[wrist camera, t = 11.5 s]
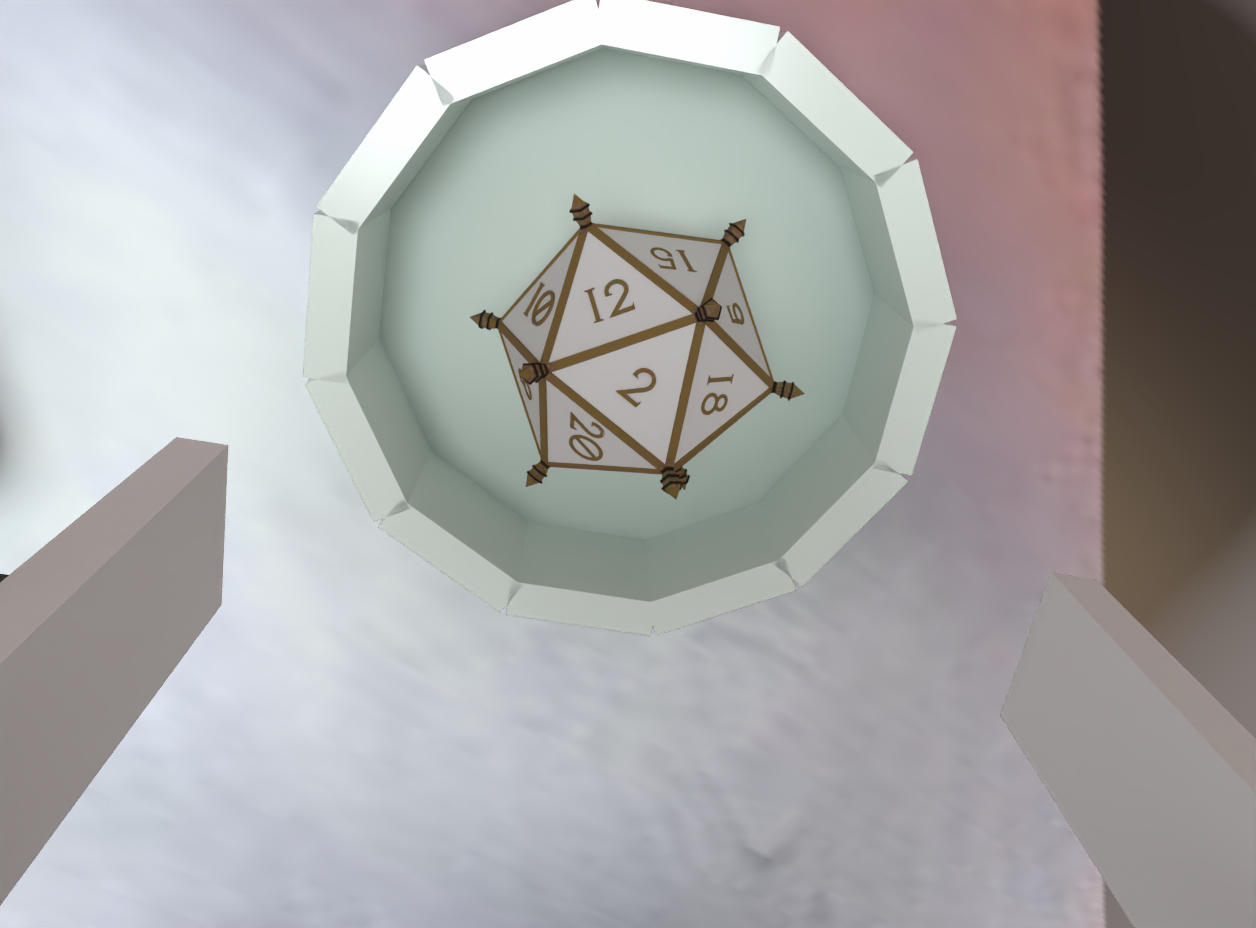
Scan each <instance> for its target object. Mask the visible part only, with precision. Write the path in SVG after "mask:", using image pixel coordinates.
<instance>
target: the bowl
mask: <svg viewBox="0 0 1256 928" xmlns="http://www.w3.org/2000/svg"><path fill="white" fill-rule="evenodd" d="M779 30H780V27H778V26H773V25H768V24H763V23H758V22H753V21H748V20H743V19H738V18H733V17H728V16H723V15H718V14H713V13H707V12H702V11H697V10H692V9H687V8H682V7H677V6H672V5H667V4H662V3H657V2H652V1H647V0H600V4H599V9H598V6H597V3H596V0H572V1H570V2H567V3H565V4H562V5H560V6H557V7H555V8H552V9H550V10H547V11H545V12H542V13H540V14H537V15H535V16H532V17H530V18H527V19H525V20H522V21H520V22H517V23H515V24H512V25H510V26H507V27H505V28H502V29H500V30H497V31H495V32H492V33H490V34H487V35H485V36H482V37H480V38H477V39H475V40H472V41H470V42H467V43H465V44H462V45H460V46H457V47H455V48H452V49H450V50H447V51H445V52H442V53H440V54H437V55H435V56H432V57H430V58H427V59H425V60H424V61H425V64H426V65H417V66H416V67H415V69H414V70H413V72H412V73H411V74H410V76H409V77H408V79H407V80H406V81H405V83H404V84H403V86H402V87H401V88H400V90H399V91H398V93H397V94H396V95H395V97H394V98H393V100H392V101H391V102H390V104H389V105H388V107H387V108H386V109H385V111H384V112H383V114H382V115H381V116H380V118H379V119H378V121H377V122H376V123H375V125H374V126H373V128H372V129H371V130H370V132H369V133H368V135H367V136H366V137H365V139H364V140H363V142H362V143H361V144H360V146H359V147H358V149H357V150H356V151H355V153H354V154H353V156H352V157H351V158H350V160H349V161H348V163H347V164H346V165H345V167H344V168H343V170H342V171H341V172H340V174H339V175H338V177H337V178H336V179H335V181H334V182H333V183H332V185H331V186H330V188H329V189H328V190H327V192H326V193H325V195H324V196H323V197H322V199H321V200H320V202H319V203H318V204H317V206H316V207H317V208H319V209H320V210H321V211H318V212H316V213H314V214H313V229H312V245H311V260H310V276H309V291H308V307H307V322H306V338H305V353H304V368H303V377H308V378H310V379H309V380H308V381H307V382H306V383H305V386H306V388H307V390H308V392H309V394H310V396H311V398H312V400H313V402H314V404H315V406H316V408H317V410H318V412H319V414H320V416H321V418H322V420H323V422H324V424H325V426H326V428H327V430H328V432H329V434H330V436H331V438H332V440H333V442H334V444H335V446H336V448H337V450H338V452H339V454H340V456H341V458H342V460H343V462H344V464H345V466H346V468H347V470H348V472H349V474H350V476H351V478H352V480H353V482H354V484H355V486H356V488H357V490H358V492H359V494H360V496H361V498H362V500H363V502H364V504H365V506H366V508H367V510H368V512H369V514H370V516H371V518H372V520H373V522H374V521H377V520H380V519H382V521H381V523H380V524H379V526H378V527H379V528H380V529H381V530H383V531H384V532H386V533H387V534H389V535H390V536H391V537H393V538H394V539H396V540H397V541H399V542H400V543H401V544H403V545H404V546H406V547H407V548H409V549H410V550H411V551H413V552H414V553H416V554H417V555H418V556H420V557H421V558H423V559H424V560H426V561H427V562H428V563H430V564H431V565H433V566H434V567H436V568H437V569H438V570H440V571H441V572H443V573H444V574H446V575H447V576H448V577H450V578H451V579H453V580H454V581H455V582H457V583H458V584H460V585H461V586H463V587H464V588H465V589H467V590H468V591H470V592H471V593H473V594H474V595H475V596H477V597H478V598H480V599H481V600H483V601H484V602H485V603H487V604H488V605H490V606H491V607H493V608H494V609H495V610H497V611H498V612H500V611H501V610H502V609H503V608H504V607H505V606H506V605H507V604H508V605H507V612H506V615H510V616H516V617H523V618H530V619H537V620H544V621H551V622H558V623H564V624H571V625H578V626H585V627H592V628H599V629H606V630H612V631H619V632H626V633H633V634H640V635H647V636H650V635H651V630H652V626H653V627H654V629H655V632H656V634H657V635H660V634H663V633H666V632H669V631H672V630H676V629H679V628H682V627H685V626H688V625H691V624H694V623H697V622H700V621H703V620H706V619H710V618H713V617H716V616H719V615H722V614H725V613H728V612H731V611H734V610H737V609H740V608H744V607H747V606H750V605H753V604H756V603H759V602H762V601H765V600H768V599H771V598H774V597H777V596H781V595H784V594H787V593H790V592H793V591H796V588H795V585H794V582H793V580H794V581H795V582H797V583H798V584H799V585H800V586H802V587H803V586H804V585H805V584H806V583H807V582H808V581H809V580H810V579H811V578H812V577H813V576H814V575H815V574H816V573H817V572H818V571H819V570H820V569H821V568H822V567H823V566H824V565H825V564H826V563H827V562H828V561H829V560H830V559H831V558H832V557H833V556H834V555H835V554H836V553H837V552H838V551H839V550H840V549H841V548H842V547H843V546H844V545H845V544H846V543H847V542H848V541H849V540H850V539H851V538H852V537H853V536H854V535H855V534H856V533H857V532H858V531H859V530H860V529H861V528H862V527H863V526H864V525H865V524H866V523H867V522H868V521H869V520H870V519H871V518H872V517H873V516H874V515H875V514H876V513H877V512H878V511H879V510H880V509H881V508H882V507H883V506H884V505H885V504H886V503H887V502H888V501H889V500H890V499H891V498H892V497H893V496H894V495H895V494H896V493H897V492H898V491H899V490H900V489H901V488H902V487H903V486H904V485H905V484H906V483H907V482H908V481H907V479H906V478H905V477H904V475H903V474H906V475H912V473H913V470H914V467H915V463H916V460H917V457H918V453H919V450H920V447H921V443H922V440H923V437H924V433H925V430H926V427H927V423H928V420H929V417H930V413H931V410H932V407H933V403H934V400H935V397H936V393H937V390H938V387H939V383H940V380H941V377H942V373H943V370H944V367H945V363H946V360H947V357H948V353H949V350H950V347H951V344H952V340H953V337H954V334H955V330H956V327H957V326H955V325H954V324H952V323H951V322H950V321H953V320H956V319H957V318H956V314H955V310H954V305H953V301H952V297H951V293H950V289H949V285H948V281H947V277H946V273H945V269H944V265H943V261H942V257H941V253H940V249H939V245H938V241H937V236H936V232H935V228H934V224H933V220H932V216H931V212H930V208H929V204H928V200H927V196H926V192H925V188H924V184H923V180H922V176H921V171H920V167H919V163H918V159H915V158H911V157H910V156H911V155H912V153H913V151H912V150H911V149H910V148H909V147H908V146H906V145H905V144H904V143H903V142H902V141H901V140H900V139H899V138H898V137H897V136H896V135H895V134H894V133H893V132H892V131H891V130H890V129H889V128H888V127H887V126H886V125H885V124H884V123H883V122H882V121H881V120H880V119H879V118H878V117H876V116H875V115H874V114H873V113H872V112H871V111H870V110H869V109H868V108H867V107H866V106H865V105H864V104H863V103H862V102H861V101H860V100H859V99H858V98H857V97H856V96H855V95H854V94H853V93H852V92H851V91H850V90H849V89H847V88H846V87H845V86H844V85H843V84H842V83H841V82H840V81H839V80H838V79H837V78H836V77H835V76H834V75H833V74H832V73H831V72H830V71H829V70H828V69H827V68H826V67H825V66H824V65H823V64H822V63H821V62H820V61H818V60H817V59H816V58H815V57H814V56H813V55H812V54H811V53H810V52H809V51H808V50H807V49H806V48H805V47H804V46H803V45H802V44H801V43H800V42H799V41H798V40H797V39H796V38H795V37H794V36H793V35H792V34H791V33H789V32H788V31H784V32H780V33H779ZM574 193H575V194H576V195H577V196H578V197H579V198H581V199H582V200H583V201H584V202H587V203H589V204H590V206H589V210H590V211H591V212H592V215H591V222H592V223H596V224H604V225H611V226H619V227H626V228H634V229H641V230H649V231H656V232H664V233H671V234H679V235H686V236H694V237H701V238H709V239H716V240H721V239H722V238H723V236H724V233H725V232H724V230H725V229H726V230H727V229H728V227H729V226H730V225H729V223H735V222H738V221H741V220H744V219H746V224H745V228H744V233H745V235H744V237H741V238H740V239H739V242H738V243H737V242H736V243H734V244H733V245H731V247H730V250H731V253H732V256H733V259H734V262H735V265H736V268H737V271H738V274H739V277H740V280H741V283H742V286H743V289H744V292H745V295H746V298H747V301H748V304H749V307H750V310H751V313H752V316H753V319H754V322H755V325H756V328H757V331H758V334H759V337H760V340H761V343H762V346H763V349H764V352H765V355H766V358H767V361H768V364H769V367H770V370H771V373H772V376H773V379H774V381H776V382H783V381H784V380H785V381H786V382H788V383H792V382H794V384H795V385H796V386H797V387H798V388H799V389H800V390H801V391H803V392H804V393H805V394H803V395H800V396H798V397H795V398H792V399H790V401H788V399H787V398H784V397H782V399H781V398H780V396H778V395H777V394H775V393H771V394H769V395H768V396H767V397H766V398H764V399H763V400H762V401H761V402H760V403H758V404H757V405H756V406H755V407H754V408H752V409H751V410H750V411H749V412H748V413H746V414H745V415H744V416H743V417H741V418H740V419H739V420H738V421H737V422H735V423H734V424H733V425H732V426H731V427H729V428H728V429H727V430H726V431H725V432H723V433H722V434H721V435H720V436H719V437H717V438H716V439H715V440H714V441H712V442H711V443H710V444H709V445H708V446H706V447H705V448H704V449H703V450H702V451H700V452H699V453H698V454H697V455H696V456H694V457H693V458H692V459H691V460H689V461H688V462H687V463H686V464H685V465H683V466H682V467H683V468H684V469H687V475H690V478H689V481H688V483H687V485H686V489H685V490H684V489H682V488H681V490H680V491H679V493H678V496H677V499H676V500H675V499H674V498H673V497H672V496H671V495H670V494H667V493H666V492H664V491H663V490H662V489H661V488H662V487H663V484H662V483H660V480H661V479H662V475H661V474H647V473H632V472H617V471H603V470H588V469H573V468H558V467H550V468H549V469H548V471H547V474H546V475H547V477H544V478H543V480H542V482H543V483H542V484H541V483H538V484H534V485H531V486H528V487H526V481H527V474H528V473H527V471H530V470H531V469H532V468H533V467H532V465H536V464H537V463H539V462H540V460H541V458H540V455H539V452H538V449H537V446H536V443H535V440H534V437H533V434H532V431H531V428H530V425H529V422H528V419H527V416H526V413H525V410H524V407H523V404H522V400H521V397H520V394H519V391H518V388H517V385H516V382H515V379H514V376H513V373H512V370H511V367H510V364H509V361H508V358H507V355H506V352H505V349H504V346H503V343H502V340H501V337H500V334H499V331H498V329H497V328H496V329H491V330H488V329H486V328H483V329H481V328H479V327H478V325H477V324H476V323H475V322H474V321H473V320H472V319H471V318H470V317H471V316H473V315H476V314H479V313H481V312H483V310H486V312H487V313H491V312H493V315H495V316H497V317H498V318H502V316H503V315H504V314H505V313H506V312H507V311H508V310H509V308H510V307H511V306H512V305H513V304H514V303H515V302H516V300H517V299H518V298H519V297H520V296H521V295H522V294H523V292H524V291H525V290H526V289H527V288H528V287H529V285H530V284H531V283H532V282H533V281H534V280H535V279H536V277H537V276H538V275H539V274H540V273H541V272H542V271H543V269H544V268H545V267H546V266H547V265H548V264H549V263H550V261H551V260H552V259H553V258H554V257H555V256H556V255H557V253H558V252H559V251H560V250H561V249H562V248H563V247H564V245H565V244H566V243H567V242H568V241H569V240H570V238H571V237H572V236H573V235H574V234H575V233H576V232H577V230H578V229H579V228H580V226H579V224H578V223H577V222H576V221H573V218H574V216H573V214H572V213H570V212H569V211H570V209H571V207H572V202H573V197H574Z"/></svg>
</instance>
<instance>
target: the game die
mask: <svg viewBox="0 0 1256 928" xmlns="http://www.w3.org/2000/svg"><path fill="white" fill-rule="evenodd" d="M589 206H590V204H589V203H587V202H584V201H583V200H582V199H581V198H579V197H578V196H577V195H576V194H575V193H574V197H573V202H572V207H571V209H570V211H569V212H570V213H572V214H573V216H574V218H573V221H576V222H577V223H578V224H579V226H580V228H579V229H578V230H577V232H576V233H575V234H574V235H573V236H572V237H571V238H570V240H569V241H568V242H567V243H566V244H565V245H564V247H563V248H562V249H561V250H560V251H559V252H558V253H557V255H556V256H555V257H554V258H553V259H552V260H551V261H550V263H549V264H548V265H547V266H546V267H545V268H544V269H543V271H542V272H541V273H540V274H539V275H538V276H537V277H536V279H535V280H534V281H533V282H532V283H531V284H530V285H529V287H528V288H527V289H526V290H525V291H524V292H523V294H522V295H521V296H520V297H519V298H518V299H517V300H516V302H515V303H514V304H513V305H512V306H511V307H510V308H509V310H508V311H507V312H506V313H505V314H504V315H503V316H502V318H498V317H497V316H495V315H493V312H491V313H487V312H486V310H483V312H481V313H479V314H476V315H473V316H471V317H470V318H471V319H472V320H473V321H474V322H475V323H476V324H477V325H478V327H479V328H481V329H483V328H486V329H488V330H491V329H496V328H497V329H498V331H499V334H500V337H501V340H502V343H503V346H504V349H505V352H506V355H507V358H508V361H509V364H510V367H511V370H512V373H513V376H514V379H515V382H516V385H517V388H518V391H519V394H520V397H521V400H522V404H523V407H524V410H525V413H526V416H527V419H528V422H529V425H530V428H531V431H532V434H533V437H534V440H535V443H536V446H537V449H538V452H539V455H540V458H541V460H540V462H539V463H537V464H536V465H532V467H533V468H532V469H531V470H530V471H527V473H528V474H527V481H526V487H528V486H531V485H534V484H538V483H541V484H542V483H543V482H542V480H543V478H544V477H547V475H546V474H547V471H548V469H549V468H550V467H558V468H573V469H588V470H603V471H617V472H632V473H647V474H661V475H662V479H661V480H660V483H662V484H663V487H662V488H661V489H662V490H663V491H664V492H666V493H667V494H670V495H671V496H672V497H673V498H674V499H675V500H676V499H677V496H678V493H679V491H680V490H681V488H682V489H684V490H685V489H686V485H687V483H688V481H689V478H690V475H687V469H684V468H683V467H682V466H683V465H685V464H686V463H687V462H688V461H689V460H691V459H692V458H693V457H694V456H696V455H697V454H698V453H699V452H700V451H702V450H703V449H704V448H705V447H706V446H708V445H709V444H710V443H711V442H712V441H714V440H715V439H716V438H717V437H719V436H720V435H721V434H722V433H723V432H725V431H726V430H727V429H728V428H729V427H731V426H732V425H733V424H734V423H735V422H737V421H738V420H739V419H740V418H741V417H743V416H744V415H745V414H746V413H748V412H749V411H750V410H751V409H752V408H754V407H755V406H756V405H757V404H758V403H760V402H761V401H762V400H763V399H764V398H766V397H767V396H768V395H769V394H771V393H775V394H777V395H778V396H780V398H781V399H782V397H784V398H787V399H788V401H790V399H792V398H795V397H798V396H800V395H803V394H805V393H804V392H803V391H801V390H800V389H799V388H798V387H797V386H796V385H795V384H794V382H792V383H788V382H786V381H785V380H784V381H783V382H776V381H774V379H773V376H772V373H771V370H770V367H769V364H768V361H767V358H766V355H765V352H764V349H763V346H762V343H761V340H760V337H759V334H758V331H757V328H756V325H755V322H754V319H753V316H752V313H751V310H750V307H749V304H748V301H747V298H746V295H745V292H744V289H743V286H742V283H741V280H740V277H739V274H738V271H737V268H736V265H735V262H734V259H733V256H732V253H731V250H730V247H731V245H733V244H734V243H736V242H737V243H738V242H739V239H740V238H741V237H744V235H745V233H744V228H745V224H746V219H744V220H741V221H738V222H735V223H729V225H730V226H729V227H728V229H727V230H726V229H725V230H724V232H725V233H724V236H723V238H722V239H721V240H716V239H709V238H701V237H694V236H686V235H679V234H671V233H664V232H656V231H649V230H641V229H634V228H626V227H619V226H611V225H604V224H596V223H592V222H591V215H592V212H591V211H590V210H589Z"/></svg>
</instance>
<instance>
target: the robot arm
mask: <svg viewBox="0 0 1256 928" xmlns="http://www.w3.org/2000/svg"><path fill="white" fill-rule="evenodd" d="M227 461H228V445H223V444H217V443H210V442H204V441H197V440H191V439H184V438H178V437H176V438H175V439H174V440H173V441H171V442H170V443H169V444H168V445H167V446H165V447H164V448H163V449H162V450H160V451H159V452H158V453H157V454H156V455H154V456H153V457H152V458H151V459H150V460H148V461H147V462H146V463H145V464H143V465H142V466H141V467H140V468H139V469H137V470H136V471H135V472H134V473H133V474H131V475H130V476H129V477H128V478H126V479H125V480H124V481H123V482H122V483H120V484H119V485H118V486H117V487H116V488H114V489H113V490H112V491H111V492H110V493H108V494H107V495H106V496H105V497H103V498H102V499H101V500H100V501H99V502H97V503H96V504H95V505H94V506H93V507H91V508H90V509H89V510H88V511H86V512H85V513H84V514H83V515H82V516H80V517H79V518H78V519H77V520H76V521H74V522H73V523H72V524H71V525H69V526H68V527H67V528H66V529H65V530H63V531H62V532H61V533H60V534H59V535H57V536H56V537H55V538H54V539H52V540H51V541H50V542H49V543H48V544H46V545H45V546H44V547H43V548H42V549H40V550H39V551H38V552H37V553H35V554H34V555H33V556H32V557H31V558H29V559H28V560H27V561H26V562H25V563H23V564H22V565H21V566H20V567H18V568H17V569H16V570H15V571H14V572H12V573H11V574H10V575H5V574H0V905H1V904H2V902H3V901H4V900H5V898H6V897H7V896H8V894H9V893H10V892H11V890H12V889H13V887H14V886H15V885H16V883H17V882H18V881H19V879H20V878H21V877H22V875H23V874H24V873H25V871H26V870H27V868H28V867H29V866H30V864H31V863H32V862H33V860H34V859H35V858H36V856H37V855H38V853H39V852H40V851H41V849H42V848H43V847H44V845H45V844H46V843H47V841H48V840H49V839H50V837H51V836H52V834H53V833H54V832H55V830H56V829H57V828H58V826H59V825H60V824H61V822H62V821H63V819H64V818H65V817H66V815H67V814H68V813H69V811H70V810H71V809H72V807H73V806H74V805H75V803H76V802H77V800H78V799H79V798H80V796H81V795H82V794H83V792H84V791H85V790H86V788H87V787H88V785H89V784H90V783H91V781H92V780H93V779H94V777H95V776H96V775H97V773H98V772H99V771H100V769H101V768H102V766H103V765H104V764H105V762H106V761H107V760H108V758H109V757H110V756H111V754H112V753H113V751H114V750H115V749H116V747H117V746H118V745H119V743H120V742H121V741H122V739H123V738H124V737H125V735H126V734H127V732H128V731H129V730H130V728H131V727H132V726H133V724H134V723H135V722H136V720H137V719H138V717H139V716H140V715H141V713H142V712H143V711H144V709H145V708H146V707H147V705H148V704H149V703H150V701H151V700H152V698H153V697H154V696H155V694H156V693H157V692H158V690H159V689H160V688H161V686H162V685H163V683H164V682H165V681H166V679H167V678H168V677H169V675H170V674H171V673H172V671H173V670H174V669H175V667H176V666H177V664H178V663H179V662H180V660H181V659H182V658H183V656H184V655H185V654H186V652H187V651H188V649H189V648H190V647H191V645H192V644H193V643H194V641H195V640H196V639H197V637H198V636H199V635H200V633H201V632H202V630H203V629H204V628H205V626H206V625H207V624H208V622H209V621H210V620H211V618H212V617H213V615H214V614H215V613H216V611H217V610H218V609H219V607H220V606H221V602H222V578H223V555H224V531H225V508H226V484H227ZM1000 716H1001V717H1002V719H1003V721H1004V722H1005V724H1006V725H1007V727H1008V728H1009V730H1010V732H1011V733H1012V735H1013V736H1014V738H1015V740H1016V741H1017V743H1018V744H1019V746H1020V747H1021V749H1022V751H1023V752H1024V754H1025V755H1026V757H1027V759H1028V760H1029V762H1030V763H1031V765H1032V766H1033V768H1034V770H1035V771H1036V773H1037V774H1038V776H1039V778H1040V779H1041V781H1042V782H1043V784H1044V785H1045V787H1046V789H1047V790H1048V792H1049V793H1050V795H1051V797H1052V798H1053V800H1054V801H1055V803H1056V804H1057V806H1058V808H1059V809H1060V811H1061V812H1062V814H1063V816H1064V817H1065V819H1066V820H1067V822H1068V823H1069V825H1070V827H1071V828H1072V830H1073V831H1074V833H1075V835H1076V836H1077V838H1078V839H1079V841H1080V842H1081V844H1082V846H1083V847H1084V849H1085V850H1086V852H1087V854H1088V855H1089V857H1090V858H1091V860H1092V861H1093V863H1094V865H1095V866H1096V868H1097V869H1098V871H1099V873H1100V874H1101V876H1102V877H1103V879H1104V880H1105V882H1106V884H1107V885H1108V887H1109V888H1110V890H1111V892H1112V893H1113V895H1114V896H1115V898H1116V899H1117V901H1118V903H1119V904H1120V906H1121V907H1122V909H1123V911H1124V912H1125V914H1126V915H1127V917H1128V918H1129V920H1130V921H1131V923H1132V925H1133V926H1134V928H1256V739H1255V738H1254V737H1253V736H1252V735H1251V734H1250V733H1249V732H1248V731H1246V729H1245V728H1244V727H1243V726H1242V725H1241V724H1240V723H1239V722H1238V721H1237V720H1236V719H1235V718H1234V717H1233V716H1232V715H1231V714H1230V713H1229V712H1228V711H1227V710H1226V709H1225V708H1224V707H1223V706H1222V705H1221V704H1220V703H1219V702H1218V701H1217V700H1216V699H1215V698H1214V697H1213V696H1212V695H1211V694H1210V693H1209V692H1208V691H1207V690H1206V689H1205V688H1204V687H1203V686H1202V685H1201V684H1200V683H1199V682H1198V681H1196V679H1195V678H1194V677H1193V676H1192V675H1191V674H1190V673H1189V672H1188V671H1187V670H1186V669H1185V668H1184V667H1183V666H1182V665H1181V664H1180V663H1179V662H1178V661H1176V659H1175V658H1174V657H1173V656H1172V655H1171V654H1170V653H1169V652H1168V651H1167V650H1166V649H1165V648H1164V647H1163V646H1162V645H1161V644H1160V643H1159V642H1158V641H1157V640H1156V639H1155V638H1154V637H1153V636H1152V635H1151V634H1150V633H1149V632H1148V631H1147V630H1146V629H1144V627H1143V626H1142V625H1141V624H1140V623H1139V622H1138V621H1137V620H1136V619H1135V618H1134V617H1133V616H1132V615H1131V614H1130V613H1129V612H1128V611H1127V610H1126V609H1125V608H1124V607H1123V606H1122V605H1121V604H1120V603H1119V602H1118V601H1117V600H1116V599H1115V598H1114V597H1113V596H1112V595H1111V594H1110V593H1109V592H1108V591H1107V590H1106V589H1105V588H1104V587H1103V586H1102V585H1101V584H1100V583H1099V582H1098V581H1097V580H1096V579H1089V578H1083V577H1076V576H1070V575H1064V574H1057V573H1051V575H1050V577H1049V580H1048V583H1047V586H1046V588H1045V591H1044V594H1043V597H1042V600H1041V602H1040V605H1039V608H1038V611H1037V614H1036V616H1035V619H1034V622H1033V625H1032V627H1031V630H1030V633H1029V636H1028V639H1027V641H1026V644H1025V647H1024V650H1023V653H1022V655H1021V658H1020V661H1019V664H1018V666H1017V669H1016V672H1015V675H1014V678H1013V680H1012V683H1011V686H1010V689H1009V692H1008V694H1007V697H1006V700H1005V703H1004V705H1003V708H1002V711H1001V714H1000Z"/></svg>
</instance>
